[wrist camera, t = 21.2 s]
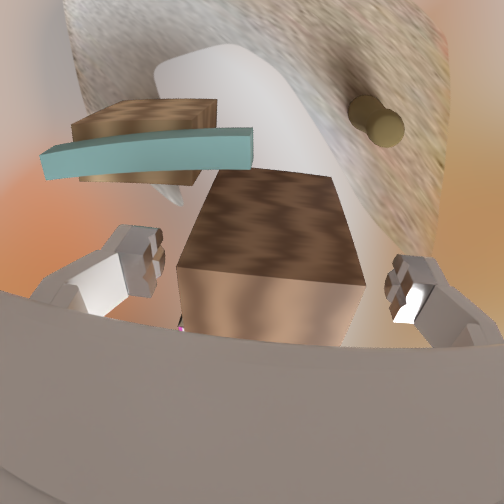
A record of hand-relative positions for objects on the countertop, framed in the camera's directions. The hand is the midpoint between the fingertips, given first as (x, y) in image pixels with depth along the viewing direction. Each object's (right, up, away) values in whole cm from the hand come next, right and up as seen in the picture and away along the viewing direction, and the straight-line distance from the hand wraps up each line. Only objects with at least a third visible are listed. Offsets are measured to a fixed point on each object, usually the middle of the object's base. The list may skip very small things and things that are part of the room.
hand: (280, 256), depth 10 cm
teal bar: (-14, +12, +22) cm, 29 cm away
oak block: (-14, +21, +35) cm, 43 cm away
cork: (+17, +21, +32) cm, 42 cm away
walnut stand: (+3, +9, +42) cm, 43 cm away
